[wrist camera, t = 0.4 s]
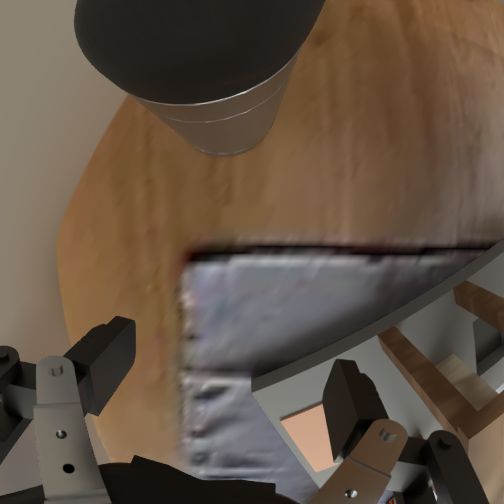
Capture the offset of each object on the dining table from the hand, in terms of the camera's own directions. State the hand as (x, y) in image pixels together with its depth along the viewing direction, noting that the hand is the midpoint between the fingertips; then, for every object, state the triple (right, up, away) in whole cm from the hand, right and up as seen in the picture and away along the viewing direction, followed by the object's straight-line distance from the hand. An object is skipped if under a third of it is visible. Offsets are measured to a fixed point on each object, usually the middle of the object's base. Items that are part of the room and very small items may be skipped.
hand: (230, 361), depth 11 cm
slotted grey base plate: (+22, -12, +21) cm, 32 cm away
